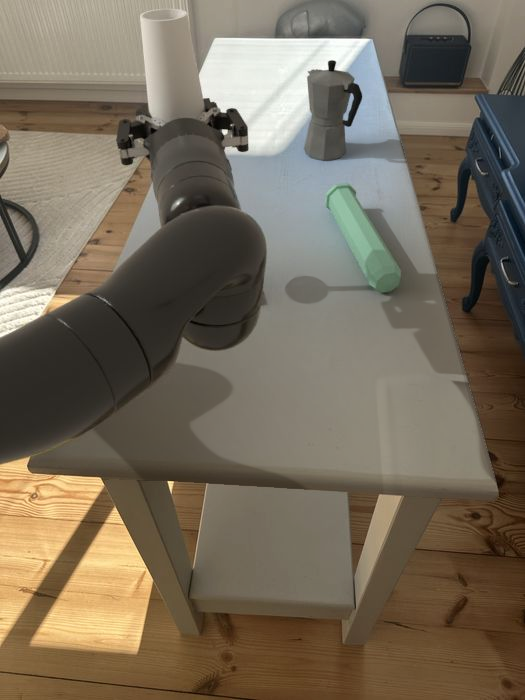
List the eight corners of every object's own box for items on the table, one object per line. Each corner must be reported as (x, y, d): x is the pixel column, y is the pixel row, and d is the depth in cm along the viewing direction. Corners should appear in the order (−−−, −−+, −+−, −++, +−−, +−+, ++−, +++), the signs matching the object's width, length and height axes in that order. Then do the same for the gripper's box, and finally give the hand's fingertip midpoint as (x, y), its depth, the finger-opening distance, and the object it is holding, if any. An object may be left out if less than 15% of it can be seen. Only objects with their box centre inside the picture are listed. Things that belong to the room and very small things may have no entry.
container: (404, 263, 69) (350, 176, 86) (366, 280, 70) (320, 191, 87) (411, 289, 74) (358, 202, 90) (374, 305, 75) (329, 216, 91)
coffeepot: (289, 146, 109) (291, 56, 95) (321, 135, 112) (327, 47, 99) (335, 173, 100) (345, 78, 87) (368, 159, 104) (382, 67, 90)
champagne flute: (212, 237, 64) (189, 23, 46) (163, 235, 64) (121, 23, 47) (221, 210, 68) (202, 6, 51) (174, 208, 69) (140, 6, 51)
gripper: (124, 219, 48) (122, 147, 59) (265, 201, 50) (237, 134, 61) (105, 144, 43) (107, 80, 54) (264, 127, 44) (233, 69, 56)
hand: (176, 109), depth 57 cm, fingers closed on champagne flute, 6 cm apart
